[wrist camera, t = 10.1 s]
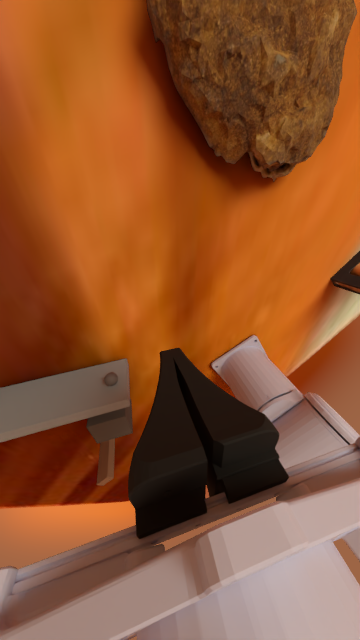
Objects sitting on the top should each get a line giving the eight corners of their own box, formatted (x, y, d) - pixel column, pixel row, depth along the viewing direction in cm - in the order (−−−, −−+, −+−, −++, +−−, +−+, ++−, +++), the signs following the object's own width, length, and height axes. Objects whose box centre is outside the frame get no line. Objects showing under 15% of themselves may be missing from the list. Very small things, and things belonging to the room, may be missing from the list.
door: (4, 395, 22) (-31, 450, 17) (-11, 380, 21) (-53, 436, 16) (128, 365, 24) (130, 406, 19) (123, 350, 23) (123, 390, 18)
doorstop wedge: (81, 372, 24) (73, 407, 20) (117, 363, 25) (116, 395, 21) (101, 408, 28) (97, 443, 24) (131, 400, 29) (132, 433, 25)
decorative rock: (341, 100, 17) (243, -209, 9) (400, 68, 13) (314, -465, 6) (250, 214, 19) (116, 35, 12) (279, 212, 15) (114, -42, 8)
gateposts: (-90, 366, 18) (-195, 448, 12) (-79, 354, 18) (-182, 432, 12) (106, 429, 31) (103, 485, 25) (115, 423, 31) (113, 478, 25)
